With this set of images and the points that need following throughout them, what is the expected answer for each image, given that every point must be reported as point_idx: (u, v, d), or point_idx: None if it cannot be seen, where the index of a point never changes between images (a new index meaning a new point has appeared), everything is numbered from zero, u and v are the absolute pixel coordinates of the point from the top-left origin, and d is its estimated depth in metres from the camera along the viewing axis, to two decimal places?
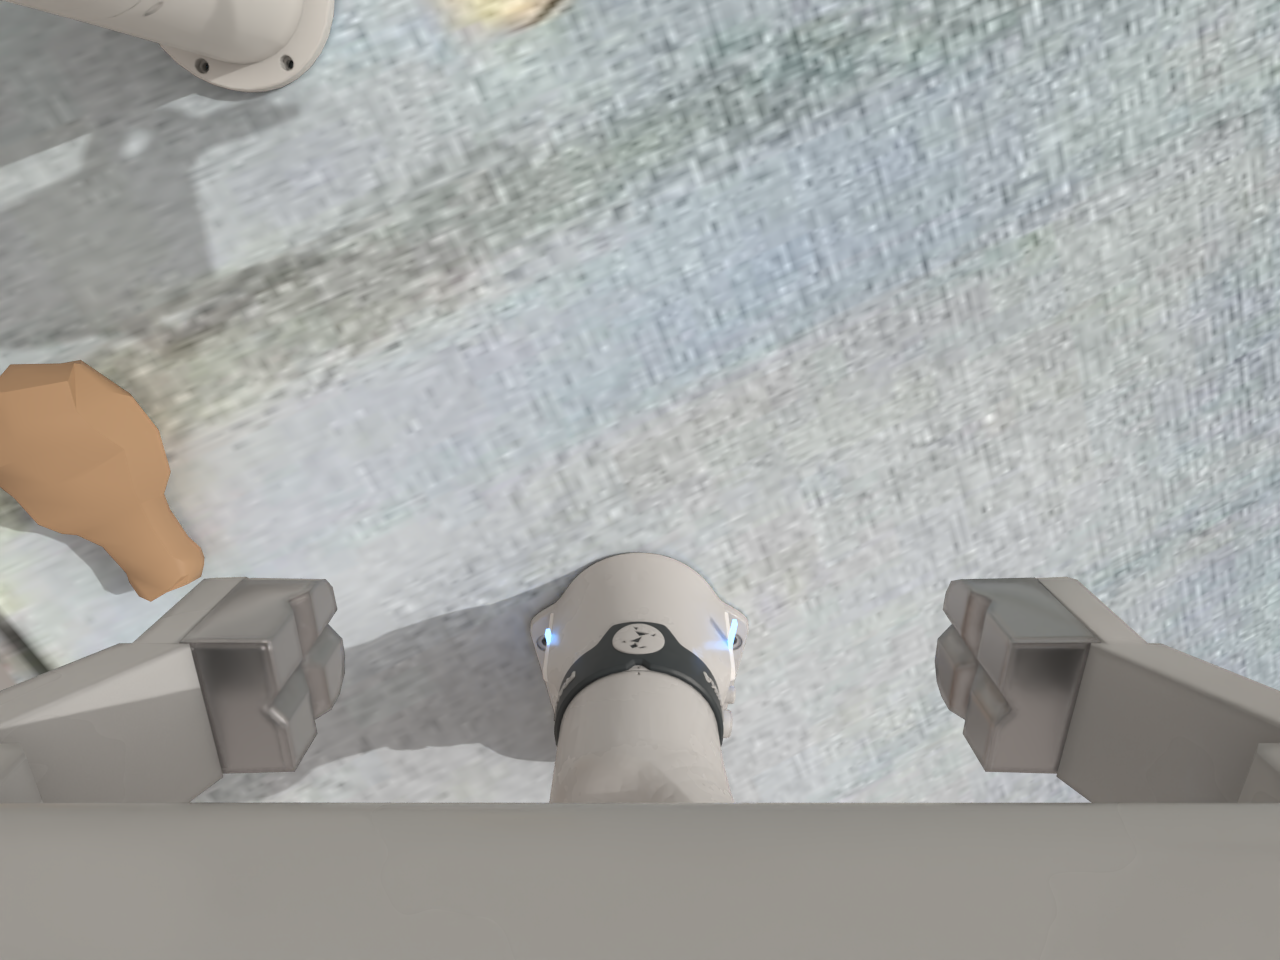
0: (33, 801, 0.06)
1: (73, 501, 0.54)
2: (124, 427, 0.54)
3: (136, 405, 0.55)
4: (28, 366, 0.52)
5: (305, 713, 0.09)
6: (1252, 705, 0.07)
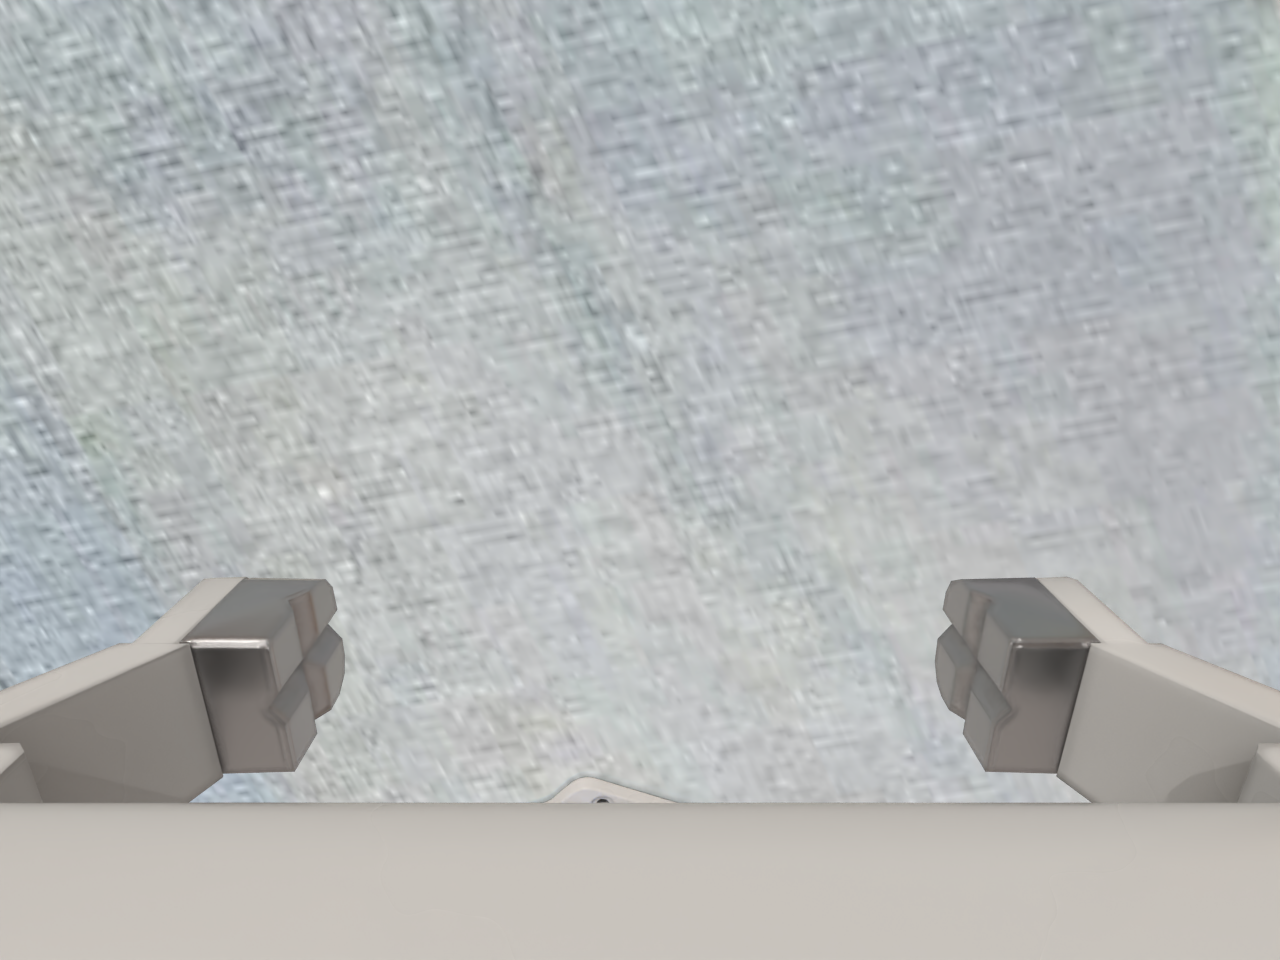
0: (33, 801, 0.06)
1: None
2: None
3: None
4: None
5: (305, 713, 0.09)
6: (1252, 705, 0.07)
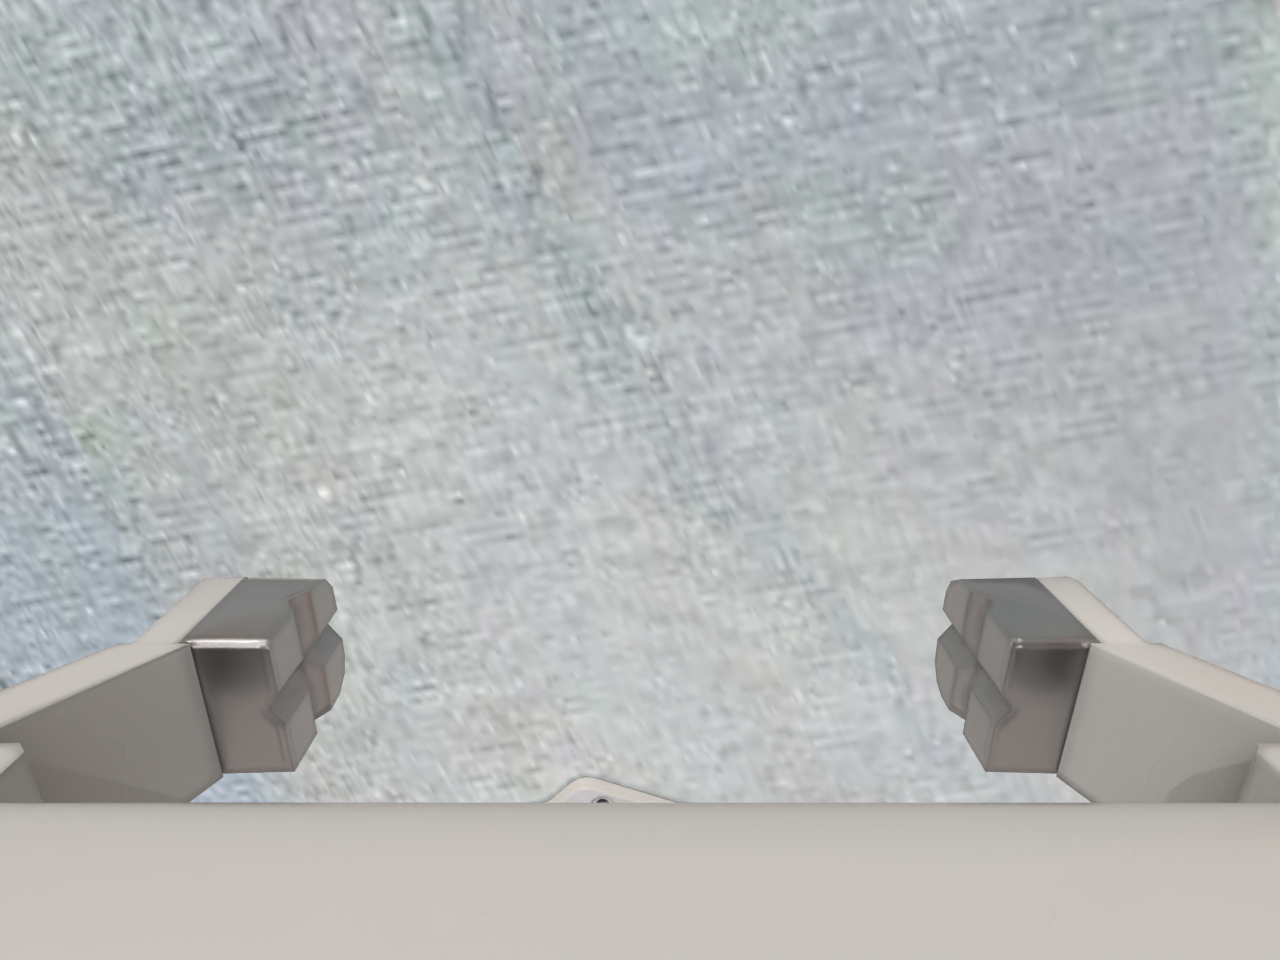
0: (33, 801, 0.06)
1: None
2: None
3: None
4: None
5: (305, 713, 0.09)
6: (1252, 705, 0.07)
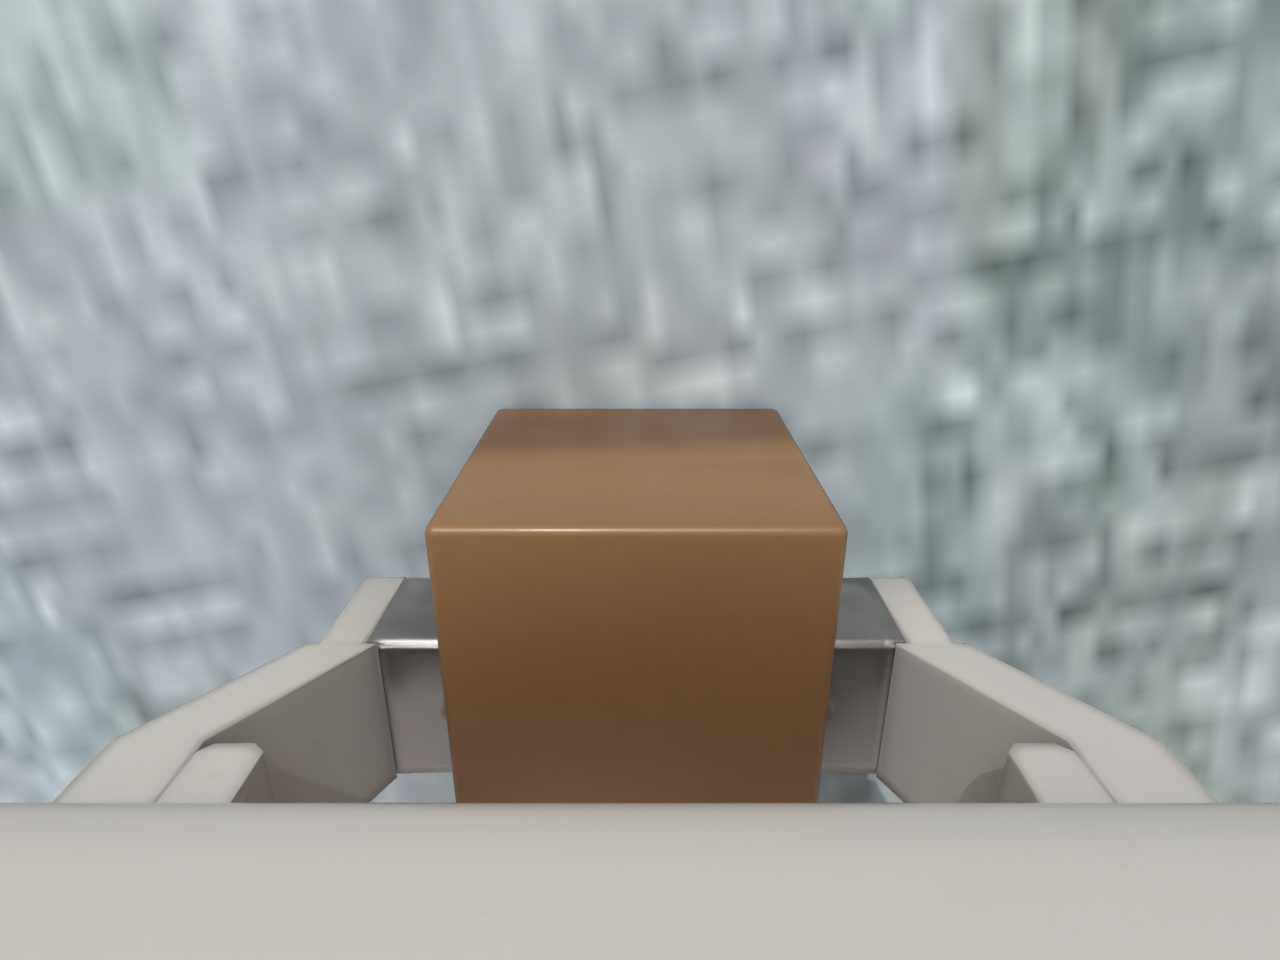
0: (269, 801, 0.06)
1: None
2: None
3: None
4: None
5: None
6: (1026, 705, 0.07)
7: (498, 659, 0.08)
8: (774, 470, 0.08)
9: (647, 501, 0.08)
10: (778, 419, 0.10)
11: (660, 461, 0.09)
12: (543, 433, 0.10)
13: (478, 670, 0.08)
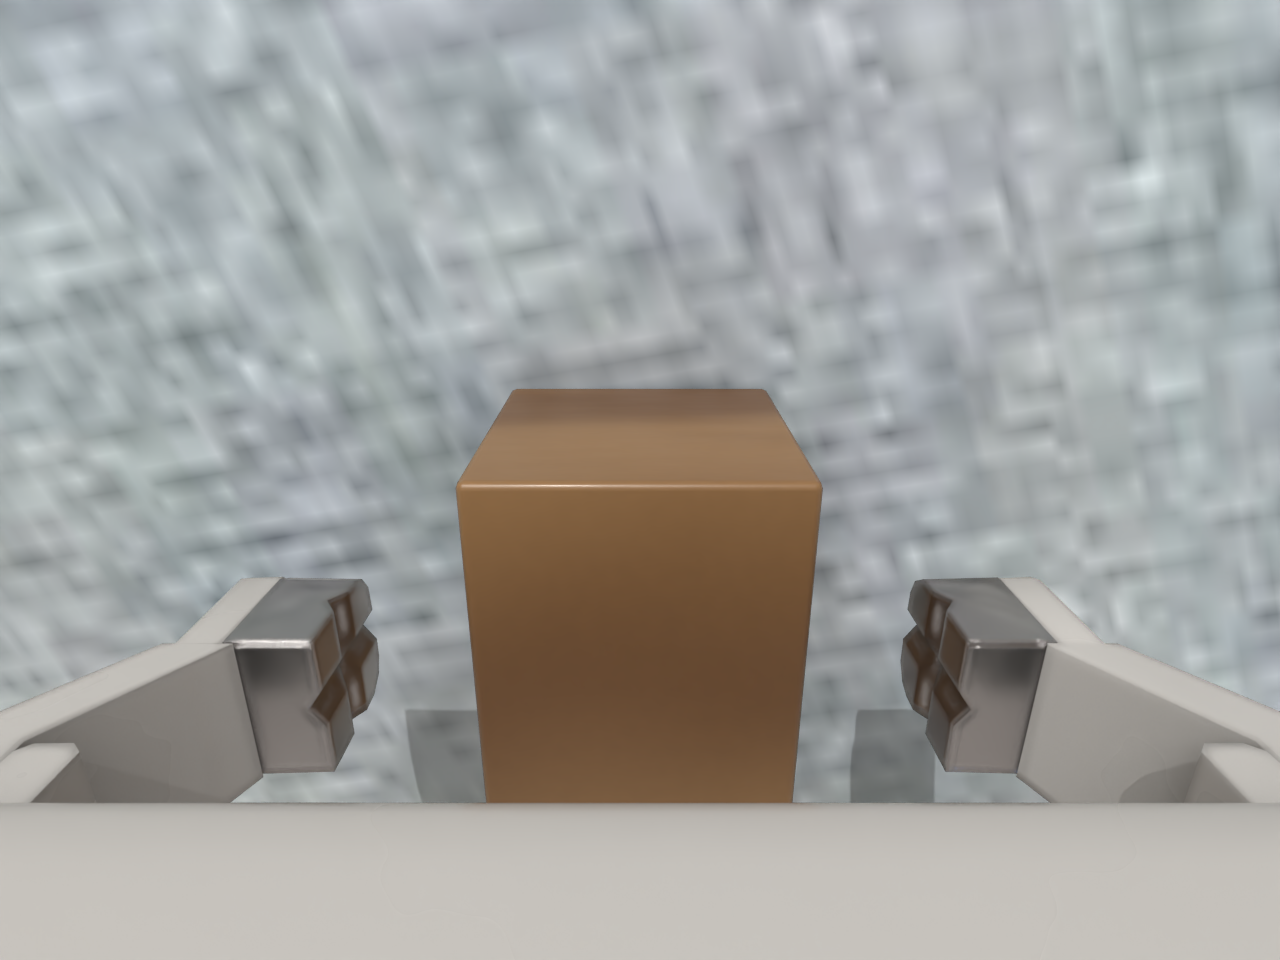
0: (87, 801, 0.06)
1: None
2: None
3: None
4: None
5: (344, 713, 0.09)
6: (1202, 705, 0.07)
7: (518, 600, 0.09)
8: (760, 438, 0.10)
9: (649, 463, 0.09)
10: (766, 397, 0.11)
11: (660, 431, 0.10)
12: (555, 409, 0.11)
13: (500, 611, 0.09)
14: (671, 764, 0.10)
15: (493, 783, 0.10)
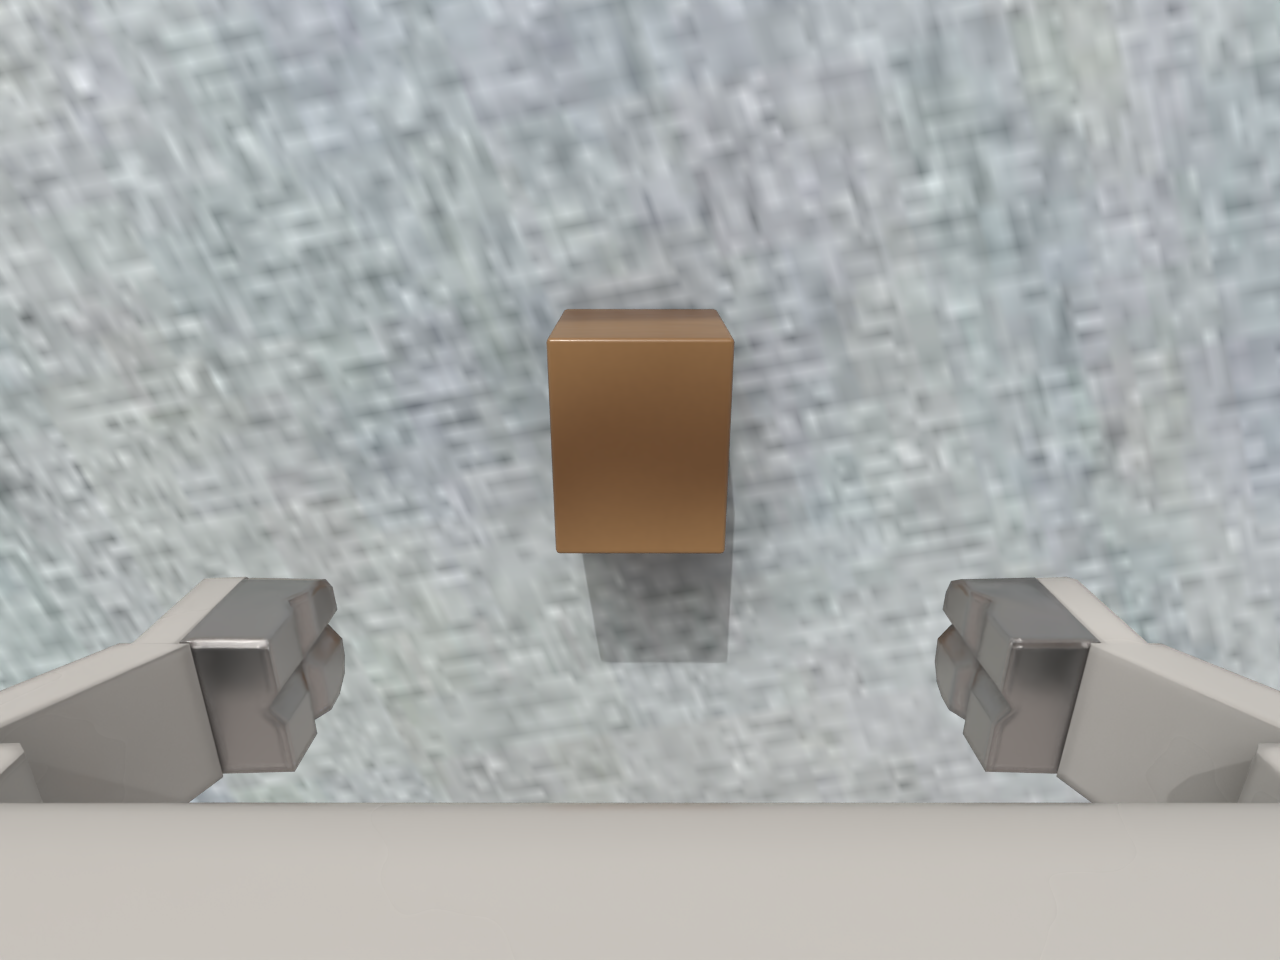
0: (33, 801, 0.06)
1: None
2: None
3: None
4: None
5: (305, 713, 0.09)
6: (1252, 705, 0.07)
7: (577, 404, 0.17)
8: (706, 326, 0.17)
9: (645, 332, 0.17)
10: (715, 312, 0.19)
11: (652, 323, 0.18)
12: (592, 316, 0.19)
13: (567, 410, 0.17)
14: (658, 503, 0.17)
15: (560, 516, 0.18)
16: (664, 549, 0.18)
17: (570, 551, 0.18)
